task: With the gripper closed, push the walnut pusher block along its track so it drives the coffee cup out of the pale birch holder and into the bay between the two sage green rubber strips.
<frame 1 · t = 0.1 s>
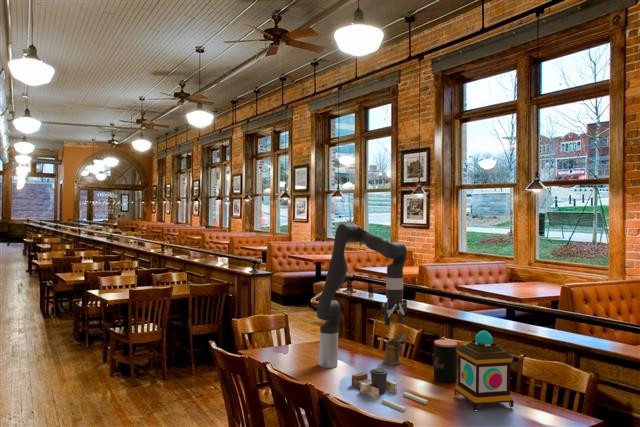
hand: (394, 324, 222), 29 cm above the table, tool pointing down, fingers open, 8 cm apart
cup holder: (378, 392, 219), on the table
coffee jar: (445, 380, 237), on the table
decorative lantern: (483, 403, 209), on the table
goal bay: (404, 402, 208), on the table
coffee cup: (378, 393, 219), on the table
pusher: (364, 381, 226), point 2 cm above the table, slide at 0.0 cm
brown sack with scoop: (395, 364, 262), on the table
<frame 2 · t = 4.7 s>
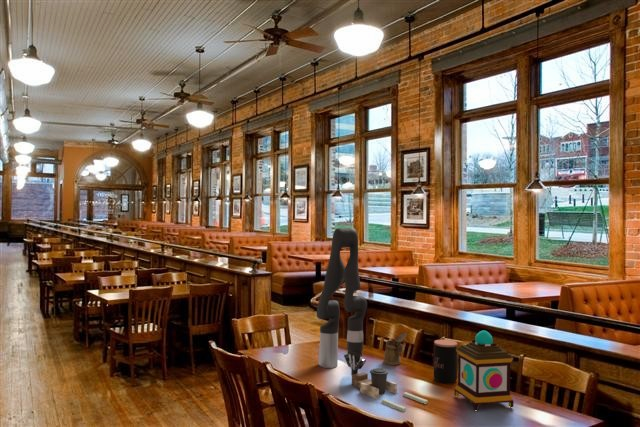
hand: (354, 377, 231), 3 cm above the table, tool pointing down, fingers closed
pusher: (364, 381, 226), point 3 cm above the table, slide at 0.1 cm, touching gripper
everything else where it was.
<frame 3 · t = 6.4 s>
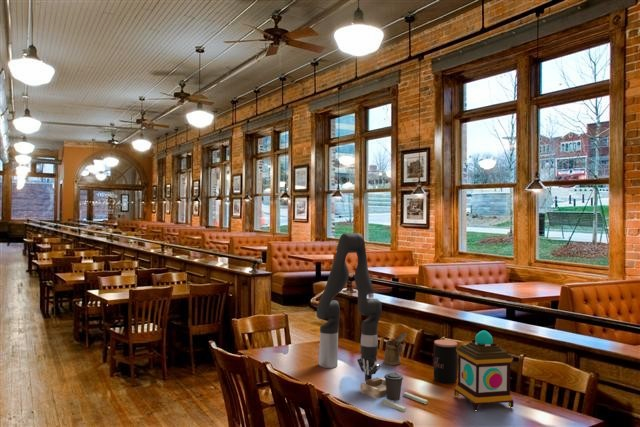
hand: (368, 382, 224), 3 cm above the table, tool pointing down, fingers closed
coffee cup: (393, 398, 213), on the table, touching pusher
pusher: (378, 386, 219), point 3 cm above the table, slide at 9.1 cm, touching coffee cup, gripper
everything else where it was.
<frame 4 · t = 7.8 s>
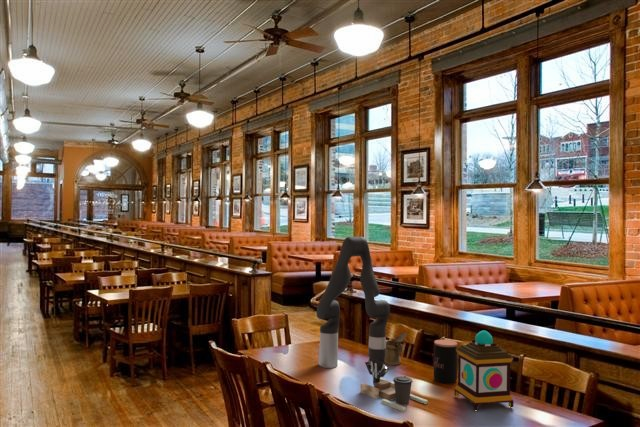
hand: (376, 385, 220), 3 cm above the table, tool pointing down, fingers closed
coffee cup: (402, 402, 209), on the table, touching pusher
pusher: (387, 390, 215), point 3 cm above the table, slide at 14.3 cm, touching coffee cup, gripper
everything else where it was.
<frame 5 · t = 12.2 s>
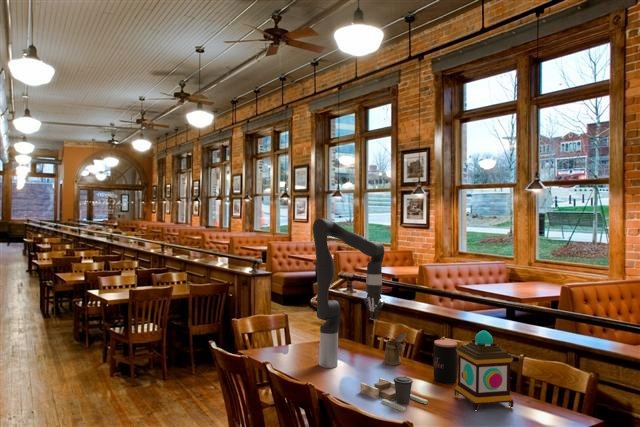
hand: (373, 319, 244), 27 cm above the table, tool pointing down, fingers closed
coffee cup: (402, 402, 209), on the table
pusher: (387, 390, 215), point 3 cm above the table, slide at 14.5 cm
everything else where it was.
at the end: coffee cup inside the target area (0.9 cm from its centre), on the table; coffee cup tilted 0° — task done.
